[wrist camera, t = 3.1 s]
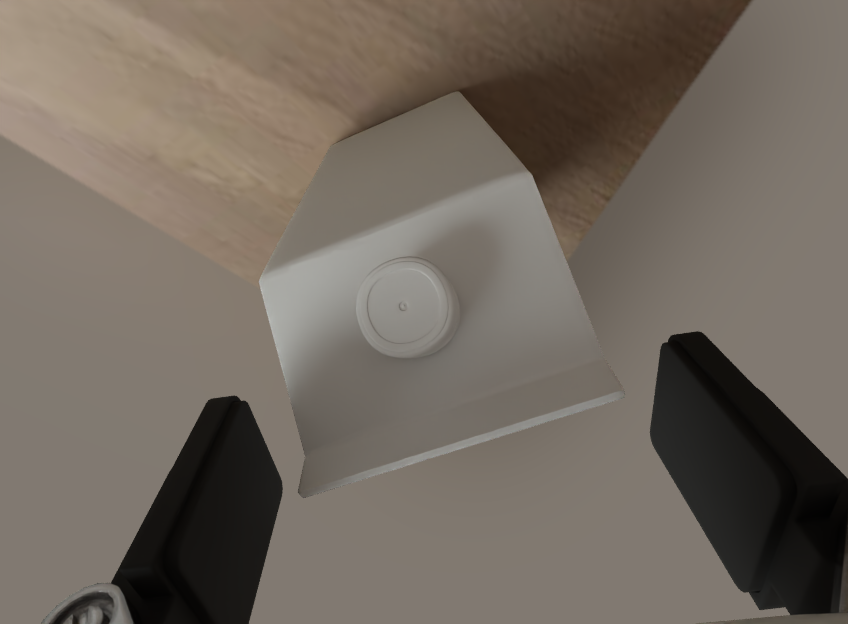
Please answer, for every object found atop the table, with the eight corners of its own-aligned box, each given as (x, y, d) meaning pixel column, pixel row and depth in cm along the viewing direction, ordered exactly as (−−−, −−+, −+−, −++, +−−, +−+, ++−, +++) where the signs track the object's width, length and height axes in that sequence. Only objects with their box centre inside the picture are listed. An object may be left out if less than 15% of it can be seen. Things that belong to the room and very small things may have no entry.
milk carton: (500, 216, 27) (650, 501, 11) (385, 260, 28) (368, 580, 12) (458, 88, 24) (589, 233, 8) (329, 145, 25) (200, 377, 9)
